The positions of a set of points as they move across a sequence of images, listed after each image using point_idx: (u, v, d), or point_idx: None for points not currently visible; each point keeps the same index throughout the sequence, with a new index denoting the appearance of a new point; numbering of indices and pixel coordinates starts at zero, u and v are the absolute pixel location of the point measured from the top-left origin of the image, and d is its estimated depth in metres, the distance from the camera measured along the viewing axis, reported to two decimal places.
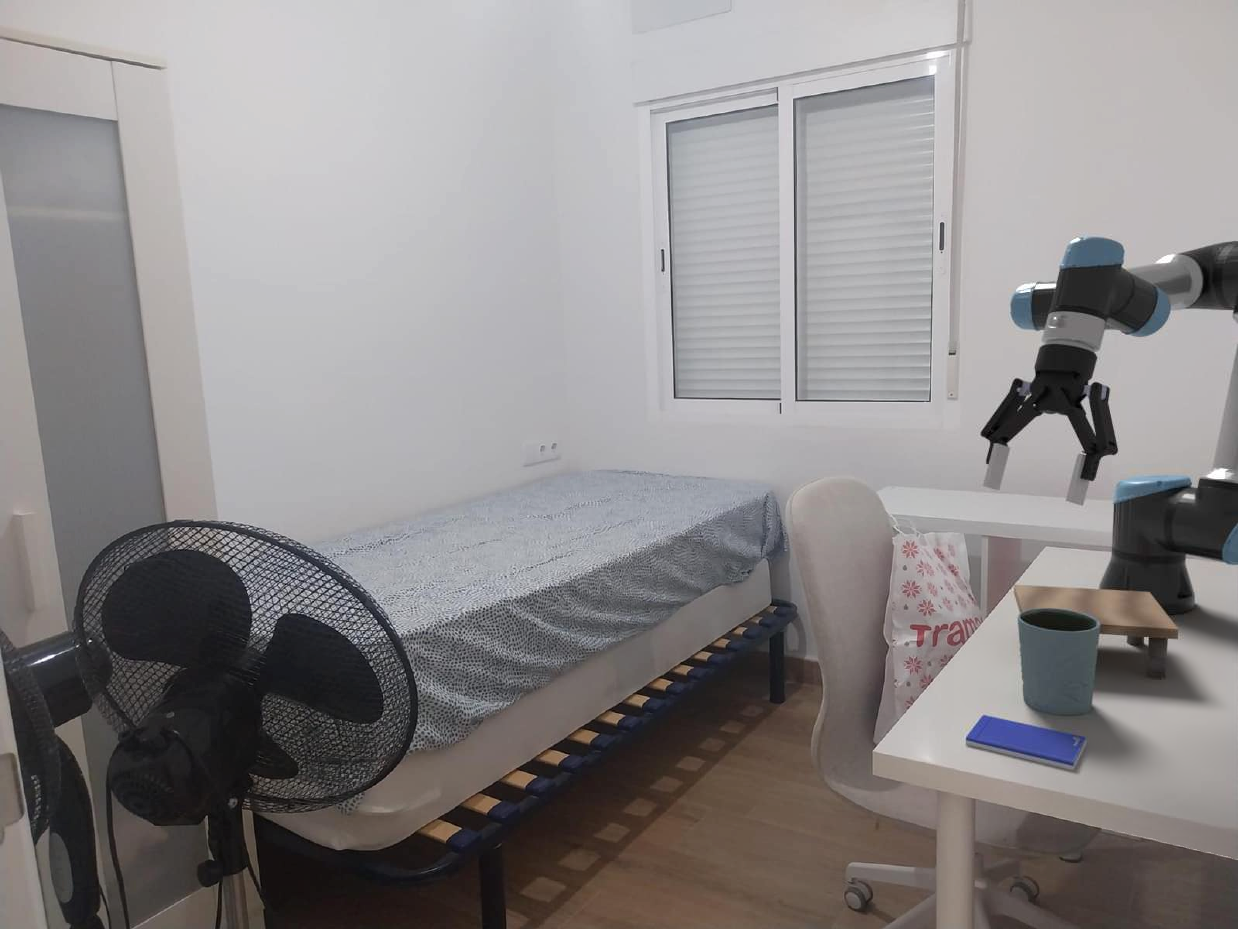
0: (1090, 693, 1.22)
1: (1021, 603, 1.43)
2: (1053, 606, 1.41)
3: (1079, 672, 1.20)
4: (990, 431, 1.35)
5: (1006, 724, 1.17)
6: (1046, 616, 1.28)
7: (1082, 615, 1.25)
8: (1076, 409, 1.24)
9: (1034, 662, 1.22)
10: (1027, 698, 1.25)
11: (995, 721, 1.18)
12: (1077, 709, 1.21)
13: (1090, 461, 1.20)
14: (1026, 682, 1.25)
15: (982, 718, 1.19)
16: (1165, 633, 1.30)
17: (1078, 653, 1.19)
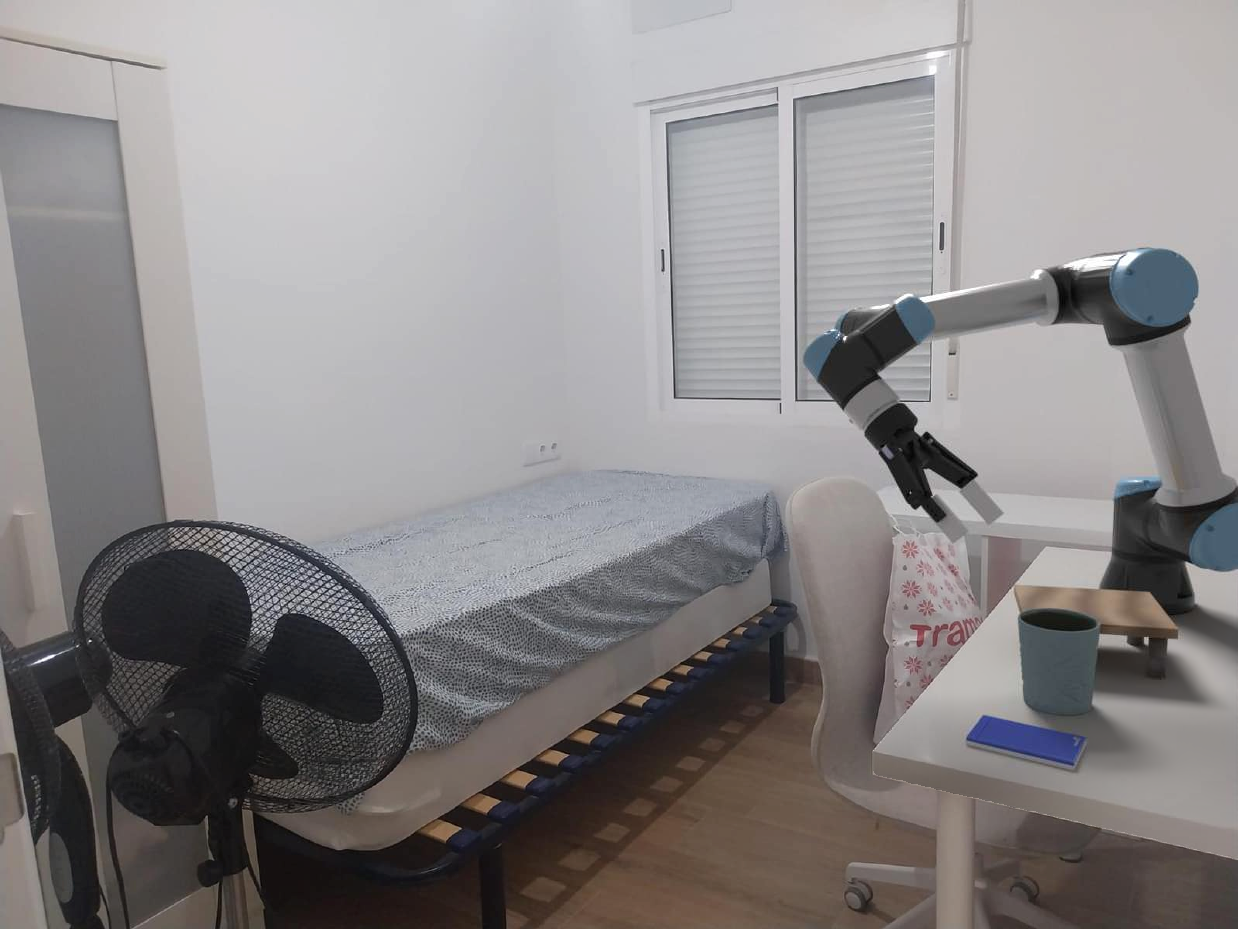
0: (1090, 693, 1.22)
1: (1021, 603, 1.43)
2: (1053, 606, 1.41)
3: (1079, 672, 1.20)
4: (958, 479, 1.39)
5: (1006, 724, 1.17)
6: (1046, 616, 1.28)
7: (1082, 615, 1.25)
8: None
9: (1034, 662, 1.22)
10: (1027, 698, 1.25)
11: (995, 721, 1.18)
12: (1077, 709, 1.21)
13: None
14: (1026, 682, 1.25)
15: (982, 718, 1.19)
16: (1165, 633, 1.30)
17: (1078, 653, 1.19)
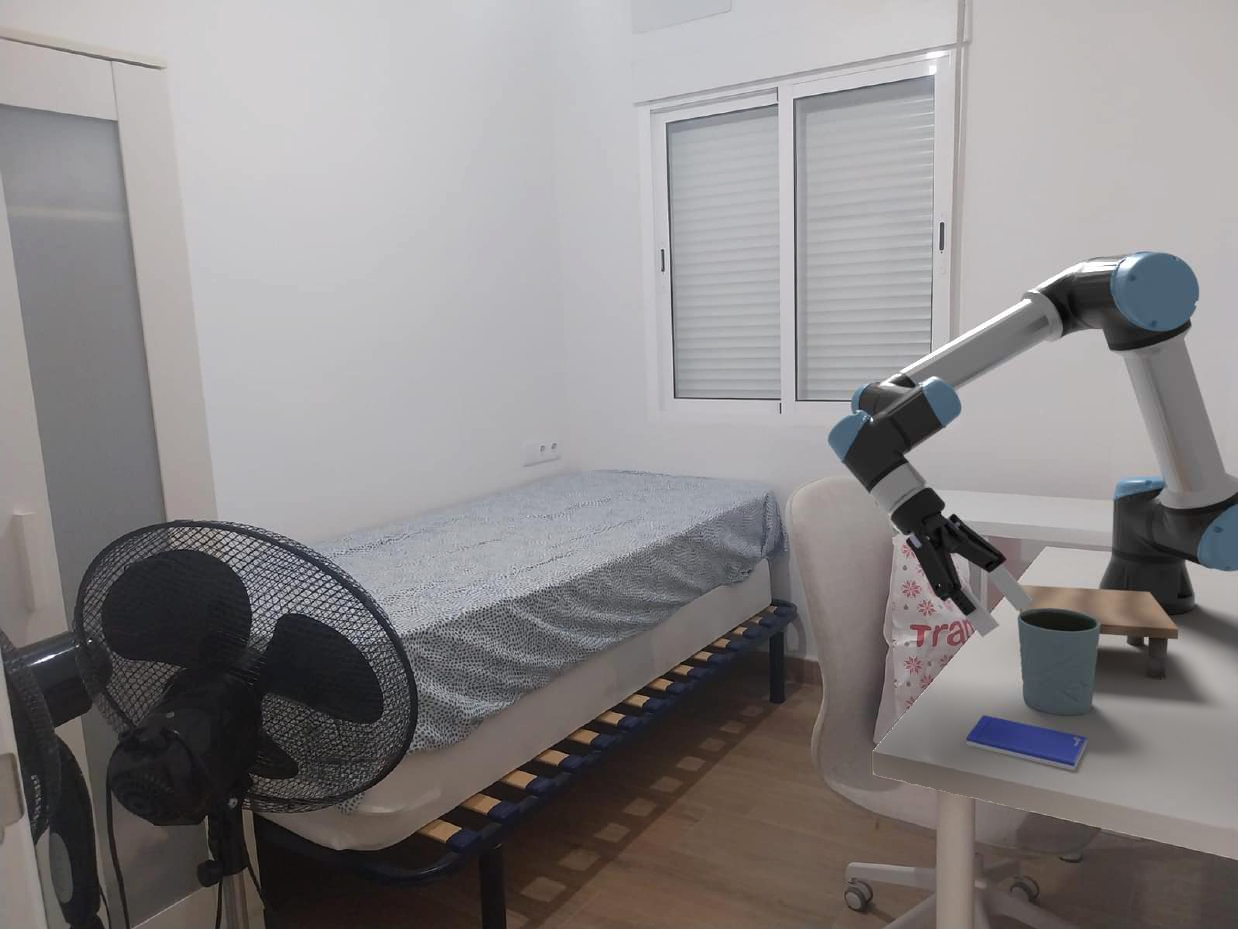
0: (1090, 693, 1.22)
1: None
2: (1053, 606, 1.41)
3: (1079, 672, 1.20)
4: None
5: (1006, 724, 1.17)
6: (1046, 616, 1.28)
7: (1082, 615, 1.25)
8: None
9: (1034, 662, 1.22)
10: (1027, 698, 1.25)
11: (995, 721, 1.18)
12: (1077, 709, 1.21)
13: None
14: (1026, 682, 1.25)
15: (982, 718, 1.19)
16: (1165, 633, 1.30)
17: (1078, 653, 1.19)
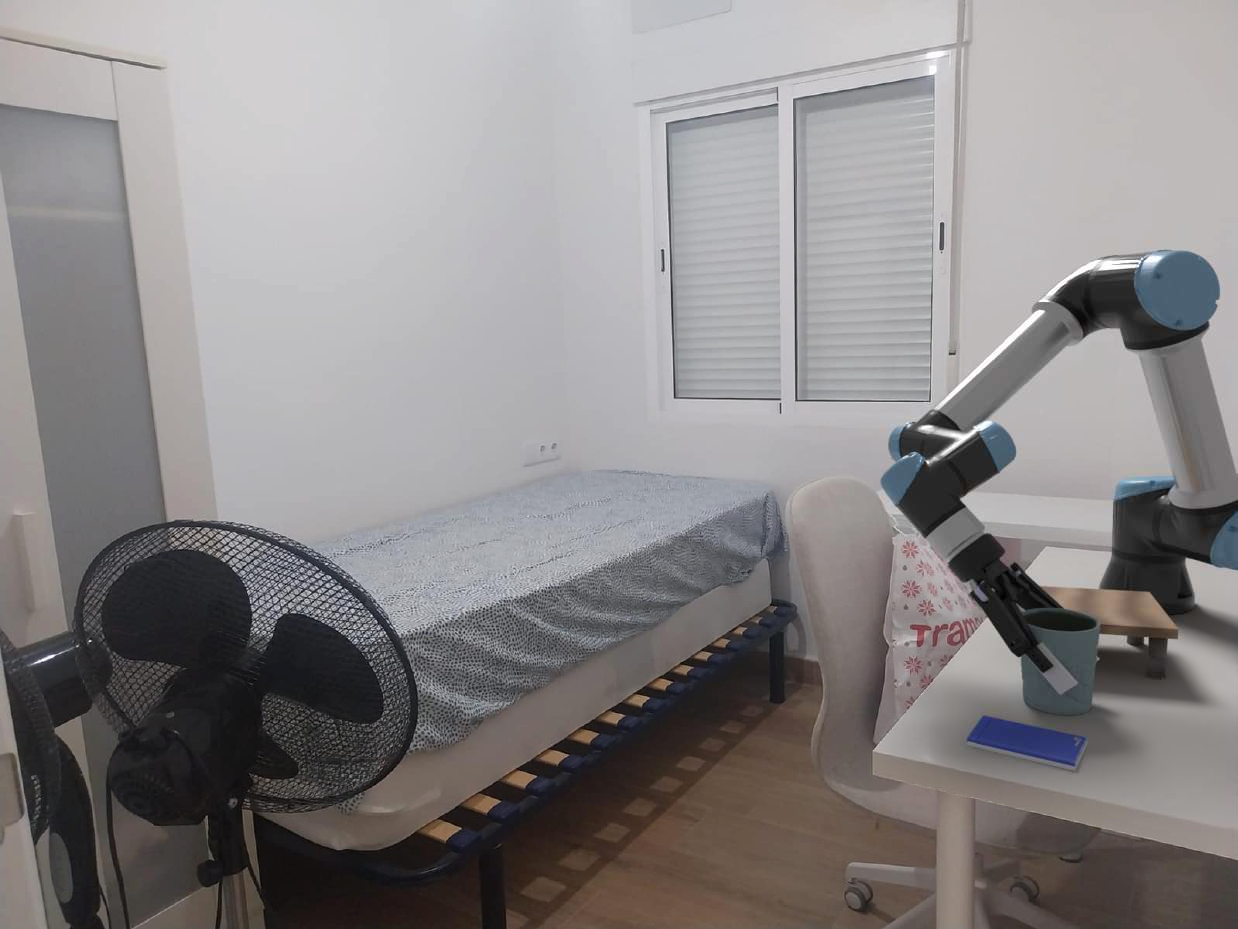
0: (1090, 693, 1.22)
1: None
2: None
3: (1079, 672, 1.20)
4: None
5: (1007, 725, 1.17)
6: (1046, 615, 1.28)
7: (1082, 615, 1.25)
8: None
9: None
10: (1027, 698, 1.25)
11: (996, 722, 1.18)
12: (1077, 709, 1.21)
13: None
14: (1026, 682, 1.25)
15: (982, 718, 1.19)
16: (1165, 633, 1.30)
17: (1078, 653, 1.19)
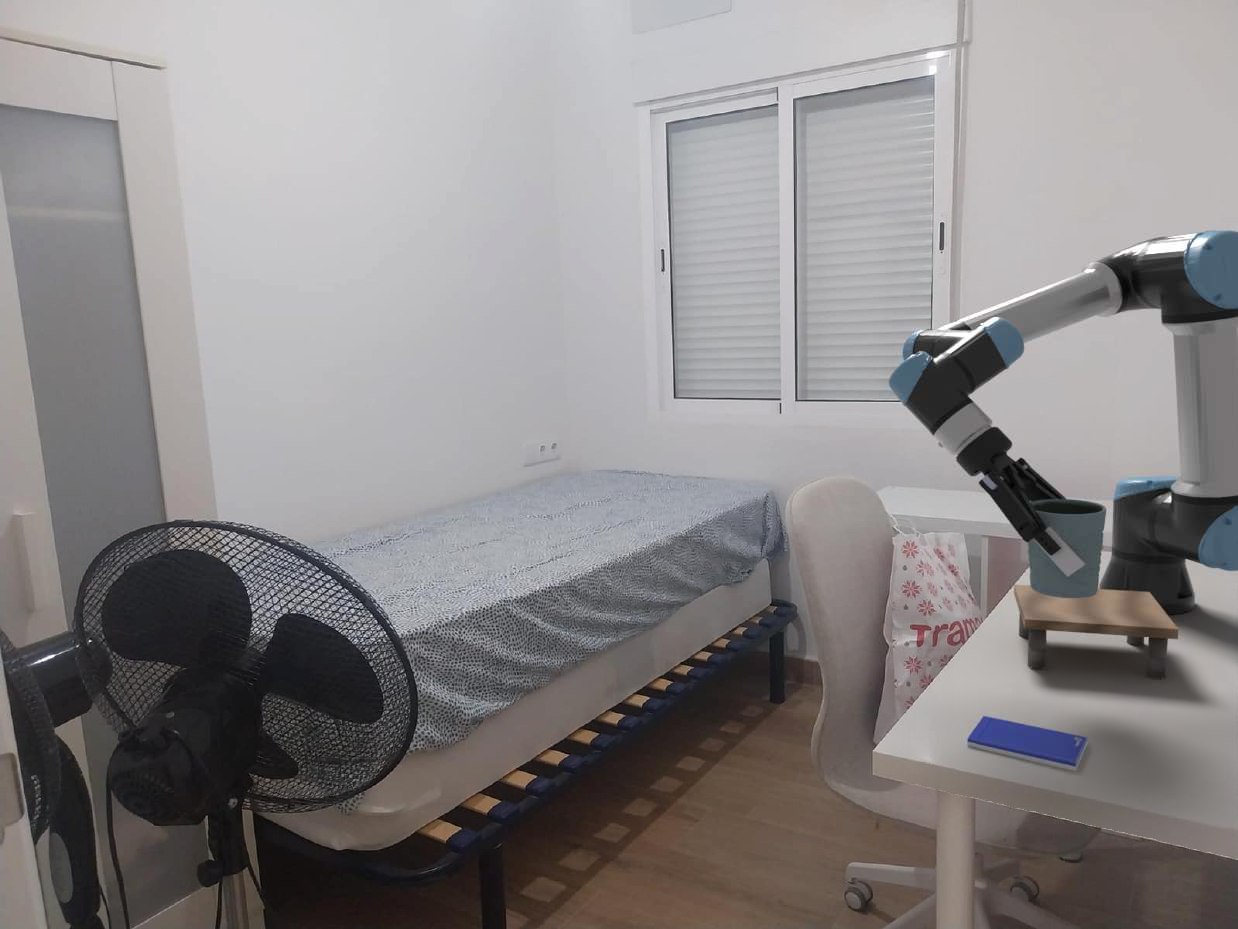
0: (1096, 577, 1.25)
1: (1021, 603, 1.43)
2: (1053, 606, 1.41)
3: (1086, 555, 1.23)
4: None
5: (1007, 725, 1.17)
6: (1052, 506, 1.31)
7: (1088, 503, 1.28)
8: None
9: None
10: (1035, 584, 1.27)
11: (996, 722, 1.18)
12: (1084, 592, 1.24)
13: None
14: (1033, 569, 1.27)
15: (983, 719, 1.19)
16: (1165, 633, 1.30)
17: (1085, 536, 1.22)
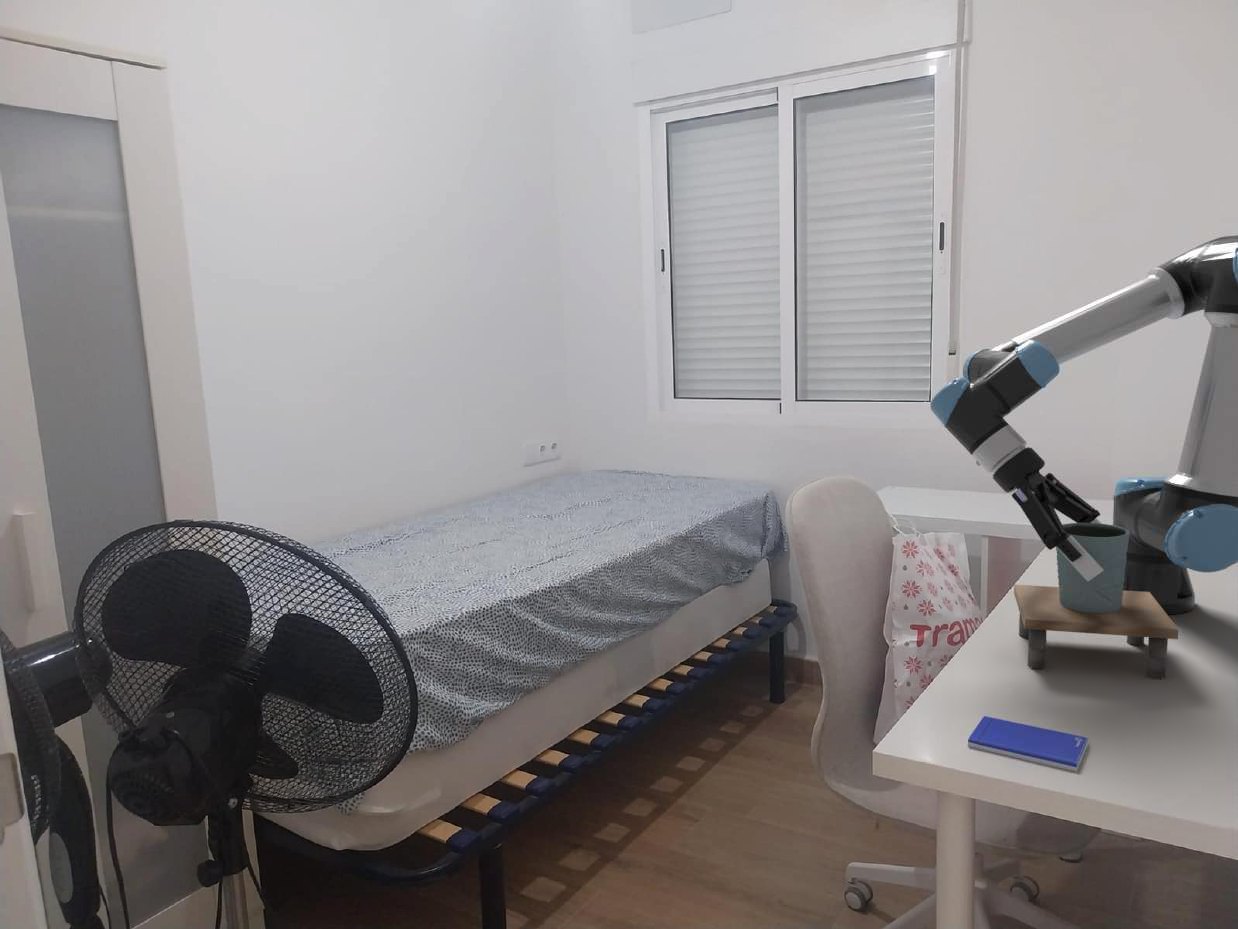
0: (1120, 594, 1.37)
1: (1021, 603, 1.43)
2: (1053, 606, 1.41)
3: (1111, 574, 1.35)
4: None
5: (1007, 725, 1.17)
6: (1079, 529, 1.44)
7: (1112, 527, 1.41)
8: None
9: (1070, 567, 1.38)
10: (1064, 600, 1.40)
11: (996, 722, 1.18)
12: (1109, 607, 1.36)
13: None
14: (1062, 587, 1.40)
15: (983, 719, 1.19)
16: (1165, 633, 1.30)
17: (1110, 557, 1.35)
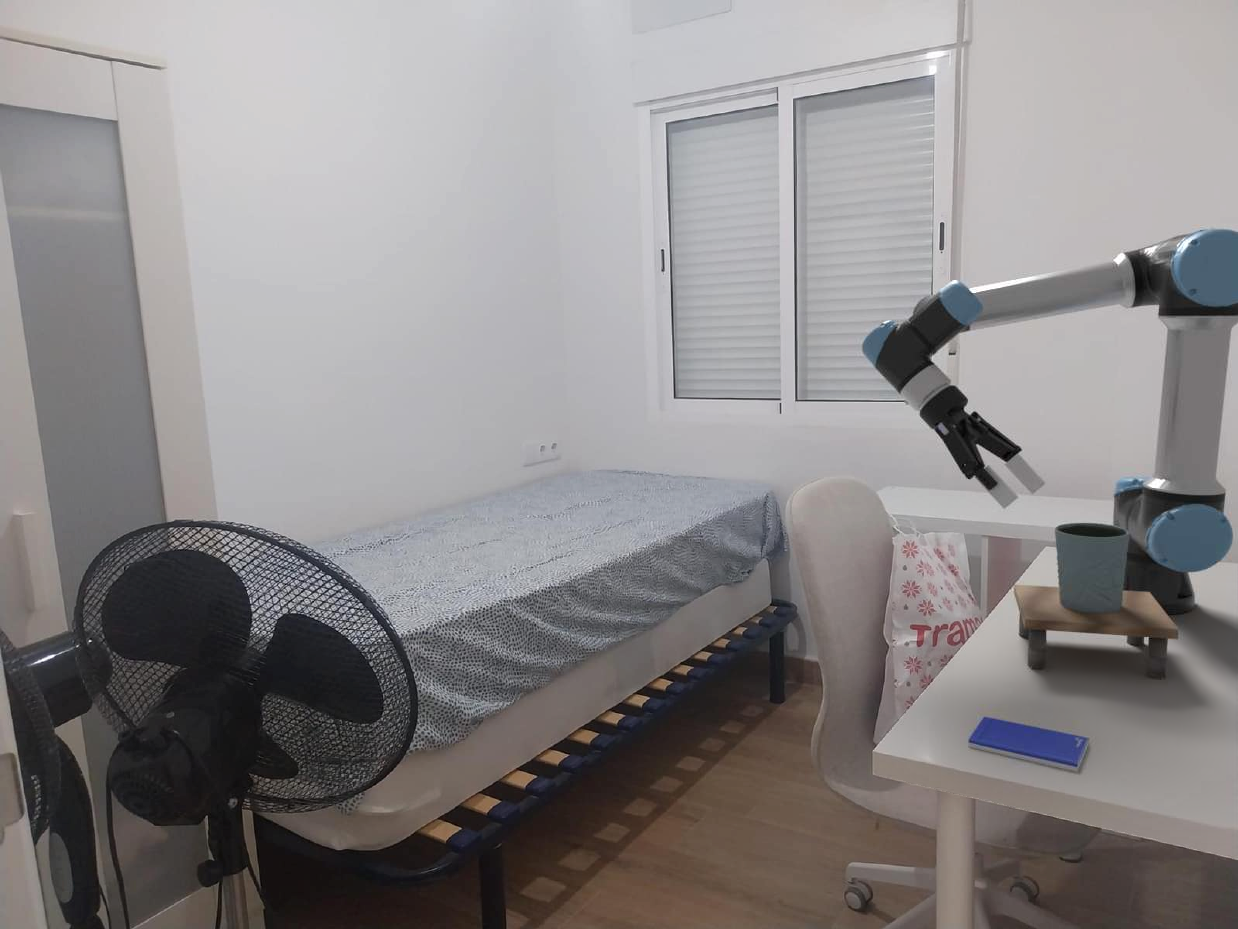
0: (1120, 594, 1.37)
1: (1021, 603, 1.43)
2: (1053, 606, 1.41)
3: (1111, 574, 1.35)
4: (1003, 453, 1.54)
5: (1008, 726, 1.17)
6: (1079, 529, 1.44)
7: (1112, 527, 1.41)
8: None
9: (1070, 567, 1.38)
10: (1064, 600, 1.40)
11: (996, 723, 1.18)
12: (1109, 608, 1.36)
13: None
14: (1063, 587, 1.40)
15: (983, 720, 1.19)
16: (1165, 633, 1.30)
17: (1111, 557, 1.35)
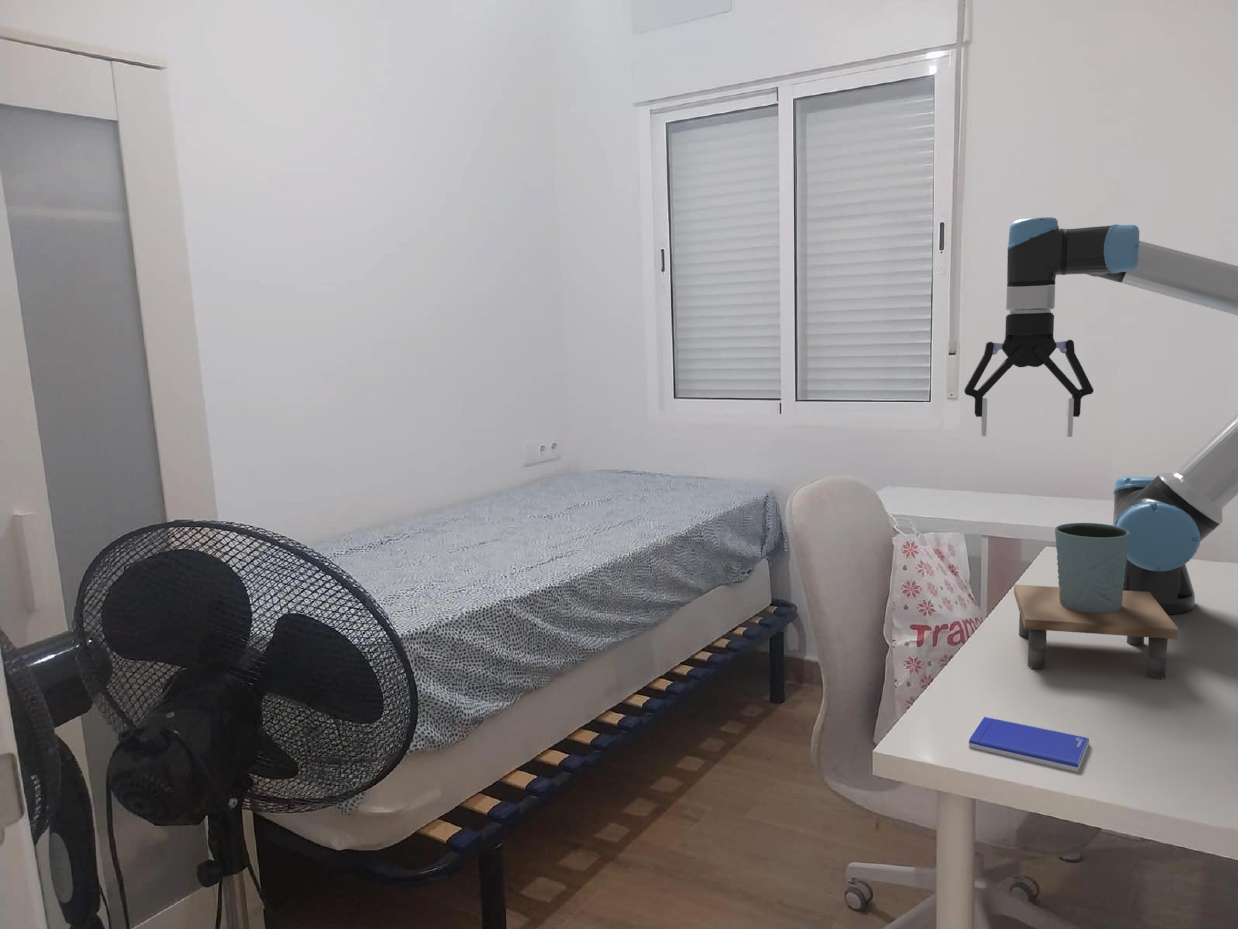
0: (1120, 594, 1.37)
1: (1021, 603, 1.43)
2: (1053, 606, 1.41)
3: (1111, 574, 1.35)
4: None
5: (1008, 726, 1.17)
6: (1079, 529, 1.44)
7: (1112, 527, 1.41)
8: (1003, 363, 1.58)
9: (1071, 567, 1.38)
10: (1064, 600, 1.40)
11: (997, 723, 1.18)
12: (1109, 608, 1.36)
13: None
14: (1063, 587, 1.40)
15: (984, 720, 1.19)
16: (1165, 633, 1.30)
17: (1111, 557, 1.35)
